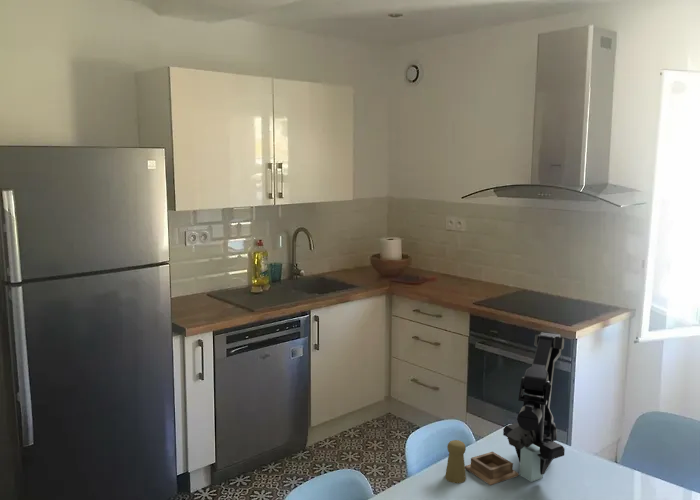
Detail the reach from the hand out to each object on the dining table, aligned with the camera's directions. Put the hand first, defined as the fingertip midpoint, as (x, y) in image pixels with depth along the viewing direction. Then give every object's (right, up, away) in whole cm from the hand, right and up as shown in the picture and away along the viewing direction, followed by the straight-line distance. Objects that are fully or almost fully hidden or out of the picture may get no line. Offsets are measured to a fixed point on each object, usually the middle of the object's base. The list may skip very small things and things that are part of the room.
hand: (531, 468), depth 177 cm
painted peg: (0, -3, 0) cm, 3 cm away
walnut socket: (-11, -2, +3) cm, 12 cm away
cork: (-22, -3, -1) cm, 23 cm away
